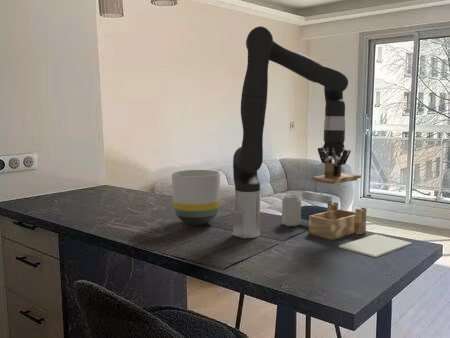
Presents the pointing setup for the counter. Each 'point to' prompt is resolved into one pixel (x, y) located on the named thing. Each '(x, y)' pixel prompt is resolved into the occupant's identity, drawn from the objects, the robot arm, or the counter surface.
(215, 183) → the planter
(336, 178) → the lid
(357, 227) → the toolbox
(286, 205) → the can
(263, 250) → the counter surface
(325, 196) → the bolt
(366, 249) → the mat
